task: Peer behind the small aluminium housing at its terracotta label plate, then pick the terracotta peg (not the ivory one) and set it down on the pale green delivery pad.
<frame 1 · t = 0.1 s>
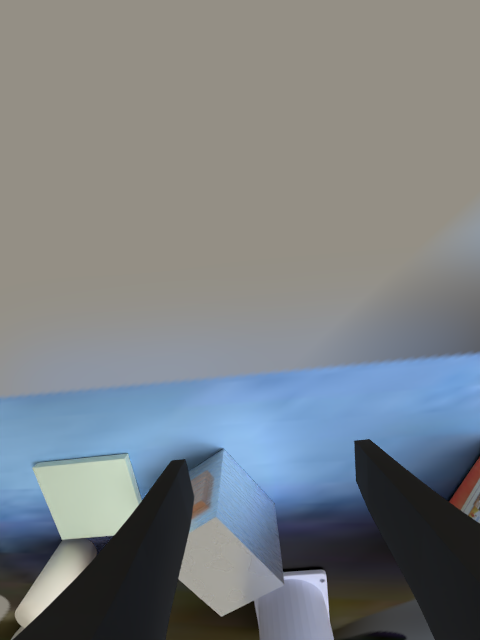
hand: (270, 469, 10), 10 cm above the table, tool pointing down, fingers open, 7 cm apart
ivory peg: (78, 549, 25), on the table
cracker box: (475, 500, 23), on the table
pad: (95, 495, 23), on the table
housing: (225, 491, 23), on the table
pill bottle: (51, 636, 29), on the table
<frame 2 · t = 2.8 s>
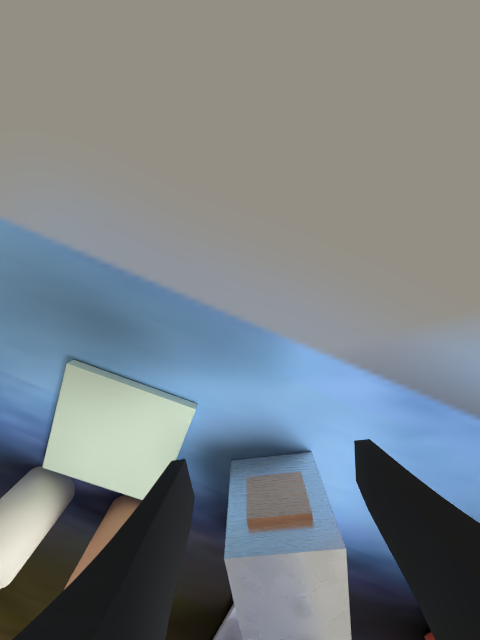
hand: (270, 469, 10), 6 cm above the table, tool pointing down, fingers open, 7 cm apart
terracotta peg: (134, 513, 19), on the table
ivory peg: (49, 486, 18), on the table
pad: (120, 433, 17), on the table
housing: (276, 498, 18), on the table
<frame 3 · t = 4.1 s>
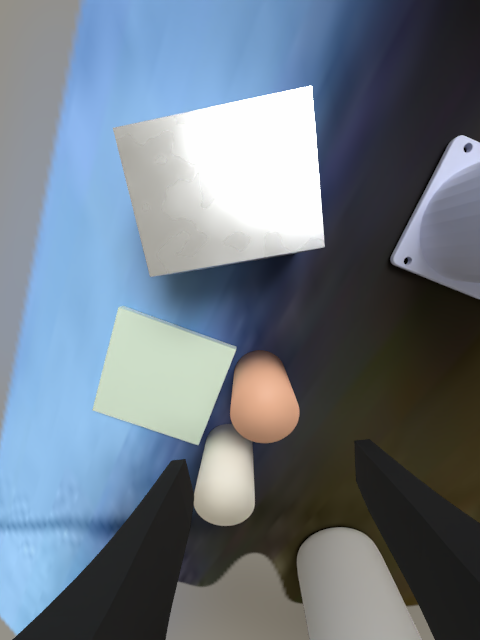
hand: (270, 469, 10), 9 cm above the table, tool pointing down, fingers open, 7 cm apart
terracotta peg: (259, 374, 18), on the table
ivory peg: (229, 444, 20), on the table
pad: (163, 377, 18), on the table
housing: (231, 218, 16), on the table
pill bottle: (335, 552, 23), on the table
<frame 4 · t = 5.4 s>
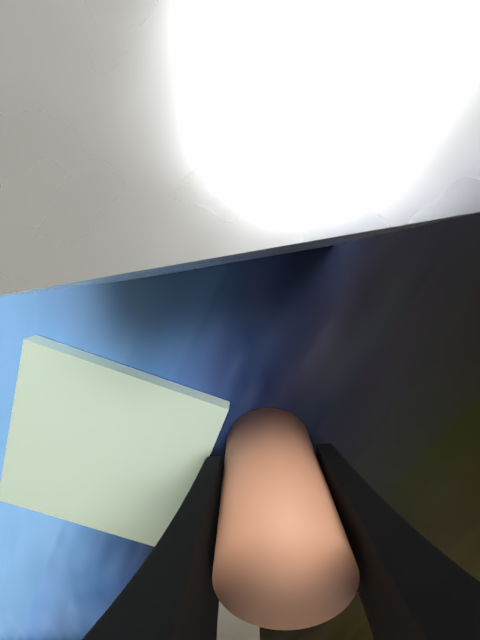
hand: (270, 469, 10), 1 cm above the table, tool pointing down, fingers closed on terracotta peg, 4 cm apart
terracotta peg: (267, 444, 11), on the table, touching gripper
ivory peg: (219, 544, 13), on the table
pad: (112, 447, 11), on the table
housing: (219, 180, 9), on the table
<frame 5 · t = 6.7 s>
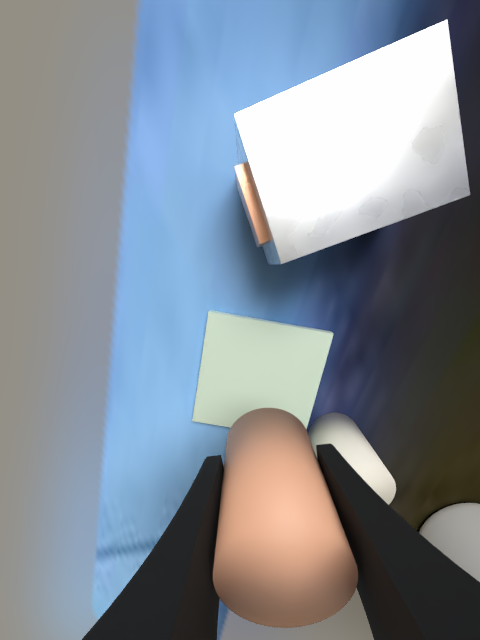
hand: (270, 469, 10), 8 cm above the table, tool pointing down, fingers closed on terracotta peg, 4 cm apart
terracotta peg: (267, 443, 11), point 7 cm above the table, touching gripper
ivory peg: (332, 433, 19), on the table
pad: (258, 376, 18), on the table
housing: (312, 197, 15), on the table
pill bottle: (457, 530, 21), on the table
when the fingers open (3 cm above the table, at t = 8.2 s): terracotta peg stays where it is, resting on pad.
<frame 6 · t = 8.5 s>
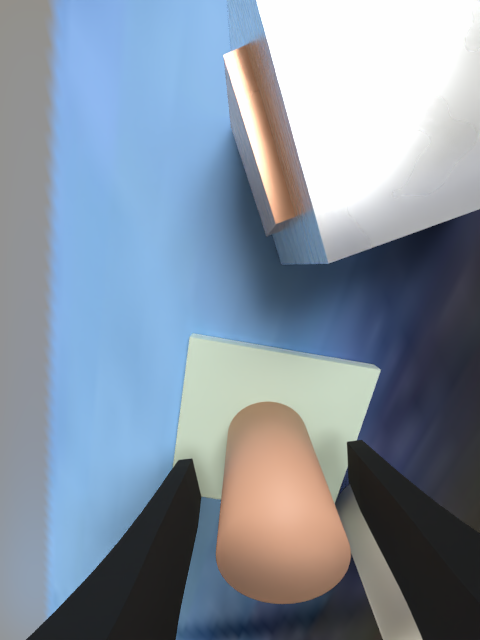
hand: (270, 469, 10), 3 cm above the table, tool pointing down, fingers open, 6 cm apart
terracotta peg: (267, 436, 12), point 1 cm above the table, touching pad
ivory peg: (370, 505, 13), on the table
pad: (265, 427, 12), on the table
housing: (353, 157, 9), on the table
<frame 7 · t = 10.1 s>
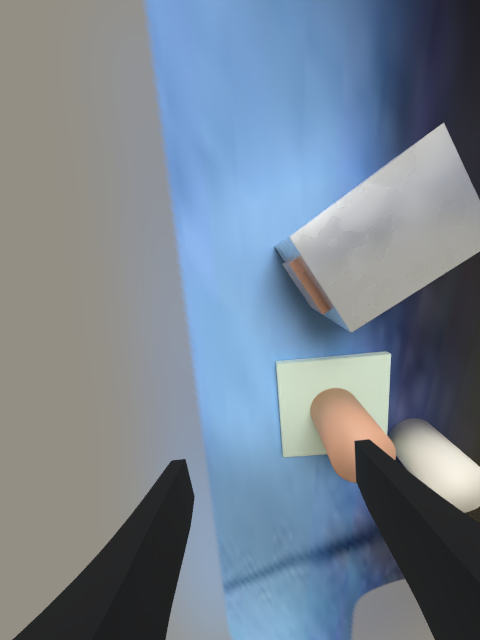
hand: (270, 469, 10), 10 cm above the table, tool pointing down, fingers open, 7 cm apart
terracotta peg: (334, 409, 19), point 1 cm above the table, touching pad
ivory peg: (410, 437, 21), on the table
pad: (331, 404, 20), on the table
housing: (342, 247, 17), on the table
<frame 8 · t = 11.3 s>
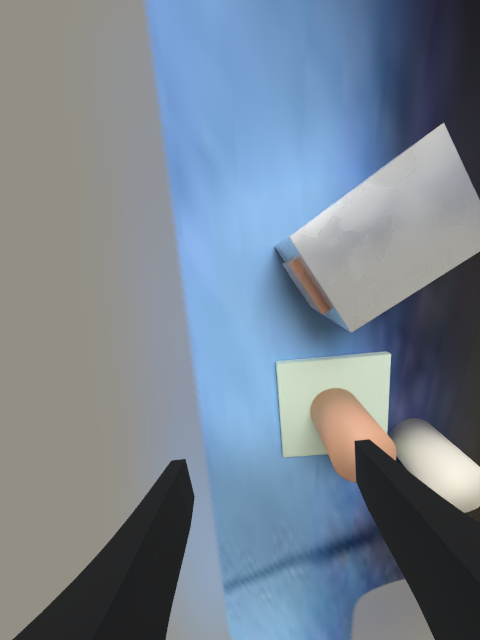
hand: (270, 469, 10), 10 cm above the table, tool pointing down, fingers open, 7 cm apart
terracotta peg: (334, 409, 19), point 1 cm above the table, touching pad
ivory peg: (410, 437, 21), on the table
pad: (331, 404, 20), on the table
housing: (342, 247, 17), on the table
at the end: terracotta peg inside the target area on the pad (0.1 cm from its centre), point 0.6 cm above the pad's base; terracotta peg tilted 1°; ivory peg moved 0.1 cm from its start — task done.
